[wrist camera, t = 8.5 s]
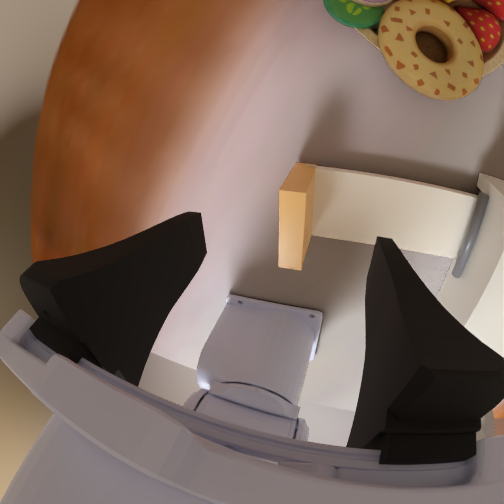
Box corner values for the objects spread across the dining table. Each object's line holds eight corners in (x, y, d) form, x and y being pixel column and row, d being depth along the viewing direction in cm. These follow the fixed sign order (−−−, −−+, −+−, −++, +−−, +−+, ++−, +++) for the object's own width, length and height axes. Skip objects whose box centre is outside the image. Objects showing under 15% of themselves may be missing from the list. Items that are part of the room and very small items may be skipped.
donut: (453, 392, 27) (453, 458, 19) (473, 381, 25) (478, 450, 17) (477, 408, 28) (478, 464, 20) (495, 399, 26) (498, 456, 18)
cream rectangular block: (402, 348, 25) (402, 398, 21) (470, 169, 14) (508, 208, 10) (487, 355, 22) (494, 399, 17) (567, 206, 11) (602, 245, 6)
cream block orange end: (294, 226, 21) (278, 266, 17) (296, 162, 18) (279, 190, 14) (472, 255, 17) (490, 299, 13) (491, 198, 14) (521, 234, 10)
